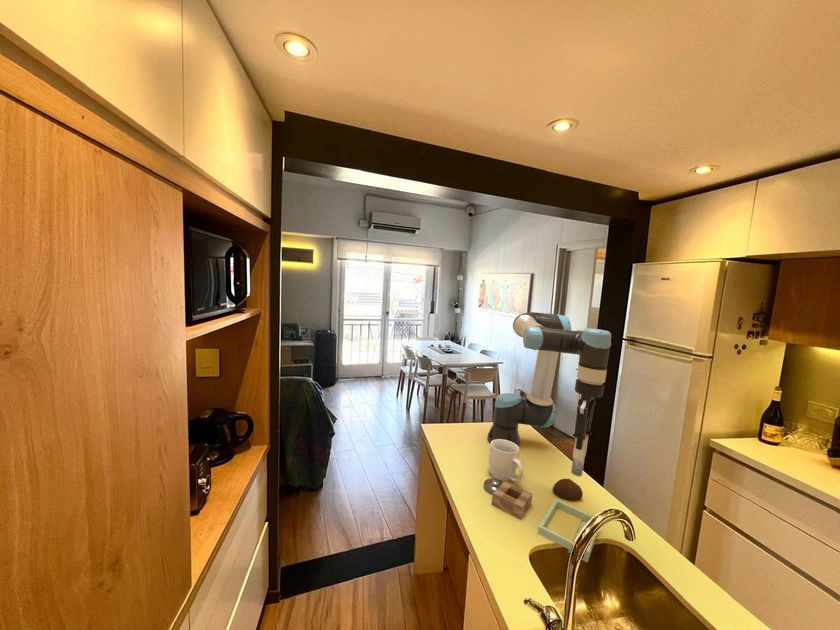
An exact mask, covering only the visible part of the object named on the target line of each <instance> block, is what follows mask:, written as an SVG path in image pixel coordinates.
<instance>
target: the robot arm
mask: <svg viewBox="0 0 840 630" xmlns="http://www.w3.org/2000/svg"><path fill="white" fill-rule="evenodd" d="M512 329H513V332H514V334H516V335H517V336H518V337H521V338H523V339H522V343H523V347H524V348H525V349H528V350H533V351H537V356H536V362H535V367H534V372H533V379H532V383H531V389H530V393H527V395H526V398H523V397H522V396H521V395H520V394H517V393H514V392H504V393H500V394H498V395H497V396H496V398H495V402H494V412H493V418H492V421H493V422H492V425H491V427H490V429H489V431H488V434H487V438H486V439H487V441H488V443H489V445H490V444H491V441H493V440H496V439H503V440H508V441H511V442H513V443H515V444H516V445H517V446H518V447H519V448H520V446H521V444H520V443H521V440H520V434H519V425H524V426H531V427H532V426H533V427H539V428H549V427H551V426H552V425H553V423H554V421H555V418H556V411H557V410H556V409H557V408H556V405H555V403H554V400H553V399H552V398H551V394H552V389H553V383H554V379H555V374H556V368H557V362H558V358H559V353H562V354H570V355H579V357H578V364H577V365H578V366H576V367H575V370H576V371H577V373H576V377H577V379H575V386H574V392H576V393H577V394H579V395H581V397H580V398H579V399H578V405H577V406H576V410H577V411H576V420H575V428H574V434H572V437H574V438H575V439H574V445H573V453H572V458H576V459H579V460H581V461H582V460H583V456H584V449H585V442H586V439H585V438H586V437H585V436H586V435H587V436H588V438H587V445H586V450H587V448H588V443H589V442H588V441H589V436H592V433H593V432H591V429H592V421H593V417H594V416H593V415H594V410H595V406H596V401H597V400H596V398H597V399H599V398H602V397H603V395H604V390H605V384H604V383H606V377H607V371H608V369H607V367H608V362H609V356H610V349H611V346H612V342H611V341H612V334H611V332H610V331H608V330H604V329H599V328H587V327H586V328H584V329H583V330H578V329H576V330H572V325H571V321H570V319H569V317H568V316H566V315H563V314H557V313H546V312H545V313H544V312H536V311H535V312H533V311H532V312H531V311H529V312H524V313H521V314H519V315H518V316H516V317H515V318H514V320H513V322H512ZM586 454H587V451H586V452H585V457H586Z"/></svg>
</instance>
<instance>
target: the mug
mask: <svg viewBox="0 0 840 630" xmlns="http://www.w3.org/2000/svg"><path fill="white" fill-rule="evenodd" d="M489 445H490V446H489V454H488V464H489V471H490V474H491V476H492V477H493V479H496V480H499V481H501V482H504V481H506V482H509V481H512V482H520V481H521V480H522V479H523V477H524V468H523V464H522V462H521V461H520V460H519V459H520V446H519V447H518V446H517V445H516V444H515V443H513V442H511V441H508V440H503V439H496V440H493V441H491V444H490V443H489ZM517 468H518V471H519V475H518V478H515V477H514V476H515V473H516V471H517Z"/></svg>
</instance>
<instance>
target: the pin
mask: <svg viewBox="0 0 840 630" xmlns="http://www.w3.org/2000/svg"><path fill="white" fill-rule="evenodd" d="M587 435H588V434H587ZM587 435H586V436H585V437H586V438H585V439H586V442H585V449H584V456H583V460H582V461H581V460H579V459H576V458H573V457H572V458H573V459H572V463H571V464H572V465H571V472H570V473H571V474H572V475H574V476H576V477H582V476H583V472H584V471H583V470H584V464H585V457H586V456H585V452H586V453H587V449H586V445H587V446H588V443H587V438H588V439H589V436H587Z"/></svg>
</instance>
